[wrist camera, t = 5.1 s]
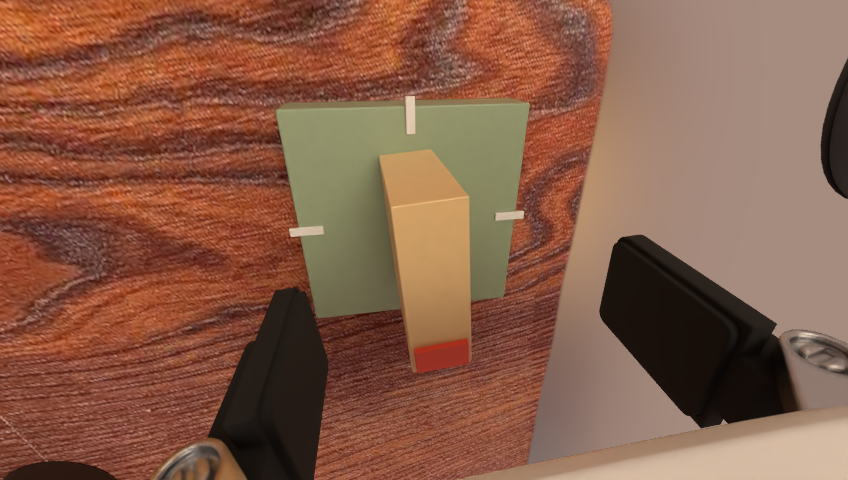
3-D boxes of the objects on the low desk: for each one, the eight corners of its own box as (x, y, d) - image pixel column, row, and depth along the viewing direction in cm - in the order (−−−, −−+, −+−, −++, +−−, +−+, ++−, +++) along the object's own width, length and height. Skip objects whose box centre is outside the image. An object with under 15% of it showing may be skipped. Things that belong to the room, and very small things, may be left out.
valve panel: (519, 89, 16) (541, 93, 14) (496, 281, 21) (510, 303, 19) (273, 93, 14) (261, 99, 12) (314, 300, 19) (309, 327, 17)
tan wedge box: (378, 155, 14) (391, 210, 9) (431, 148, 14) (472, 199, 9) (396, 284, 17) (413, 378, 12) (439, 277, 17) (473, 366, 12)
